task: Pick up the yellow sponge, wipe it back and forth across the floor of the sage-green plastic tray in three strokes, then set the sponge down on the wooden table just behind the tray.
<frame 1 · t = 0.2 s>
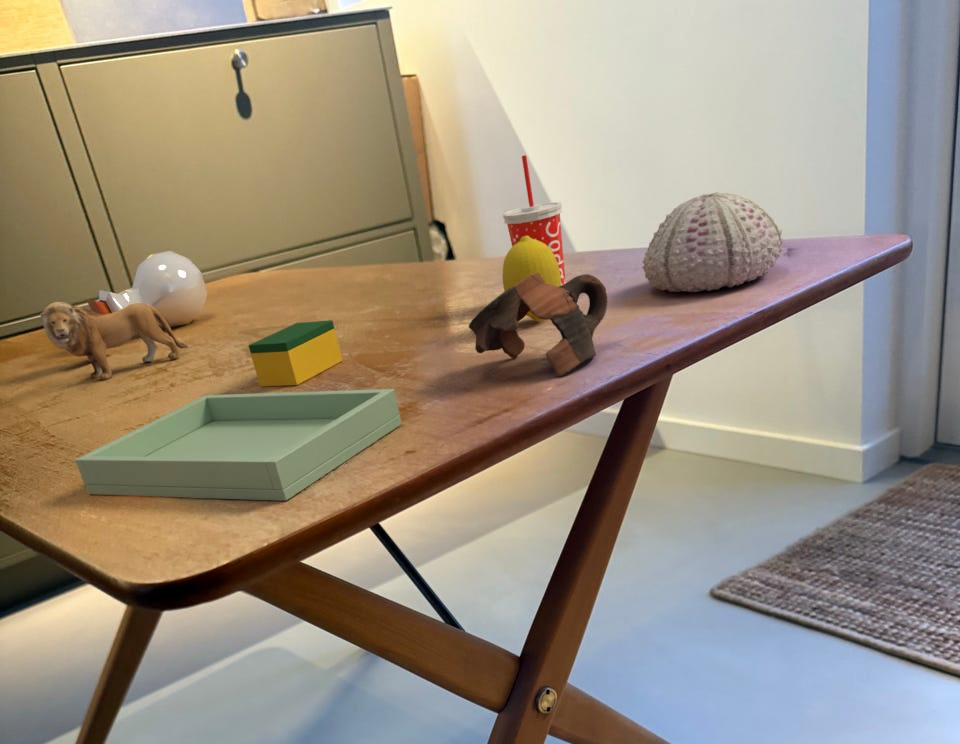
tray: (246, 459, 78), on the table
sea urchin shell: (712, 283, 102), on the table
potion bottle: (162, 331, 138), on the table
brown piece: (551, 364, 87), on the table
lion figurine: (126, 373, 118), on the table
lemon: (538, 323, 101), on the table
beverage cup: (545, 299, 110), on the table
sponge: (302, 373, 100), on the table
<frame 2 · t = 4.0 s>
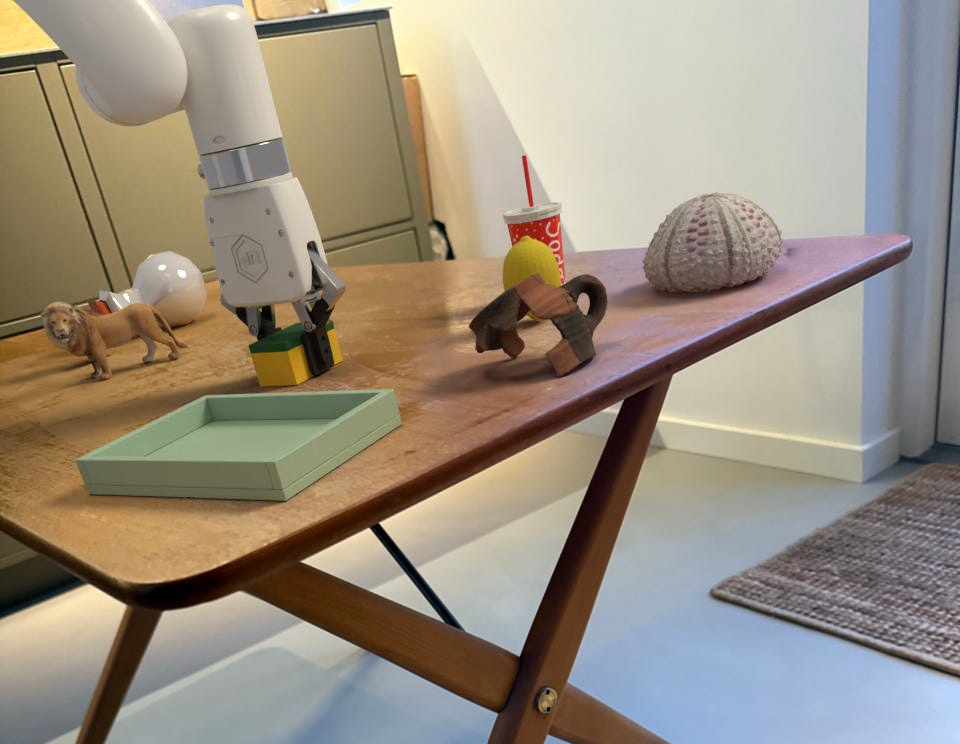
hand: (301, 369, 100), 0 cm above the table, tool pointing down, fingers closed on sponge, 4 cm apart
sponge: (302, 373, 100), on the table, touching gripper
everything else where it was.
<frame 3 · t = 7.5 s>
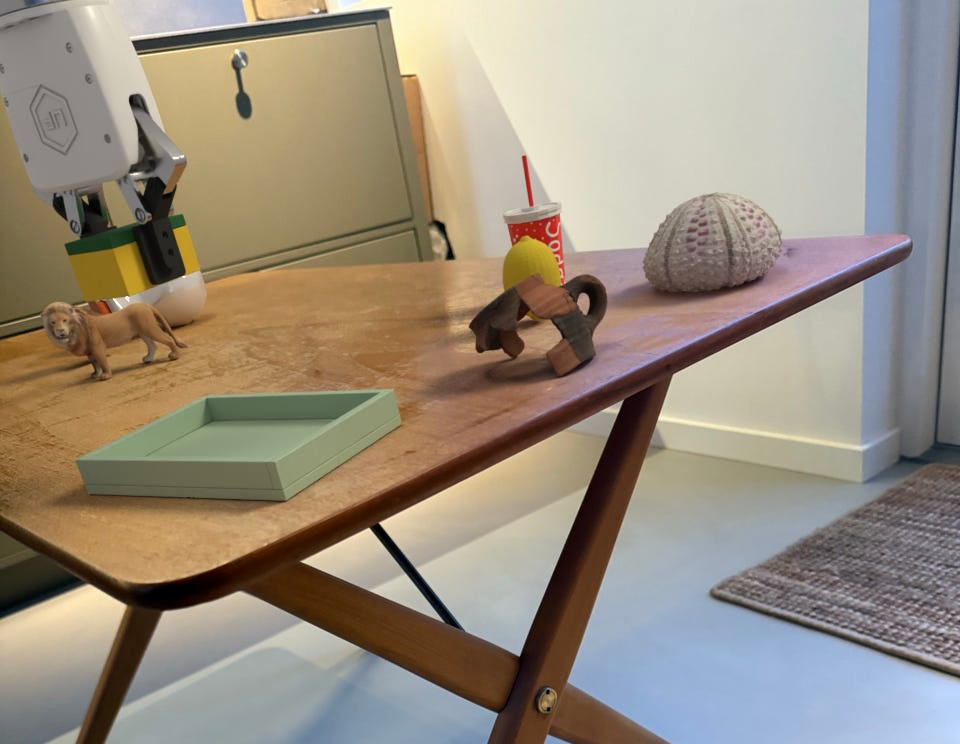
hand: (142, 280, 75), 14 cm above the table, tool pointing down, fingers closed on sponge, 4 cm apart
sponge: (144, 285, 75), point 13 cm above the table, touching gripper
everything else where it was.
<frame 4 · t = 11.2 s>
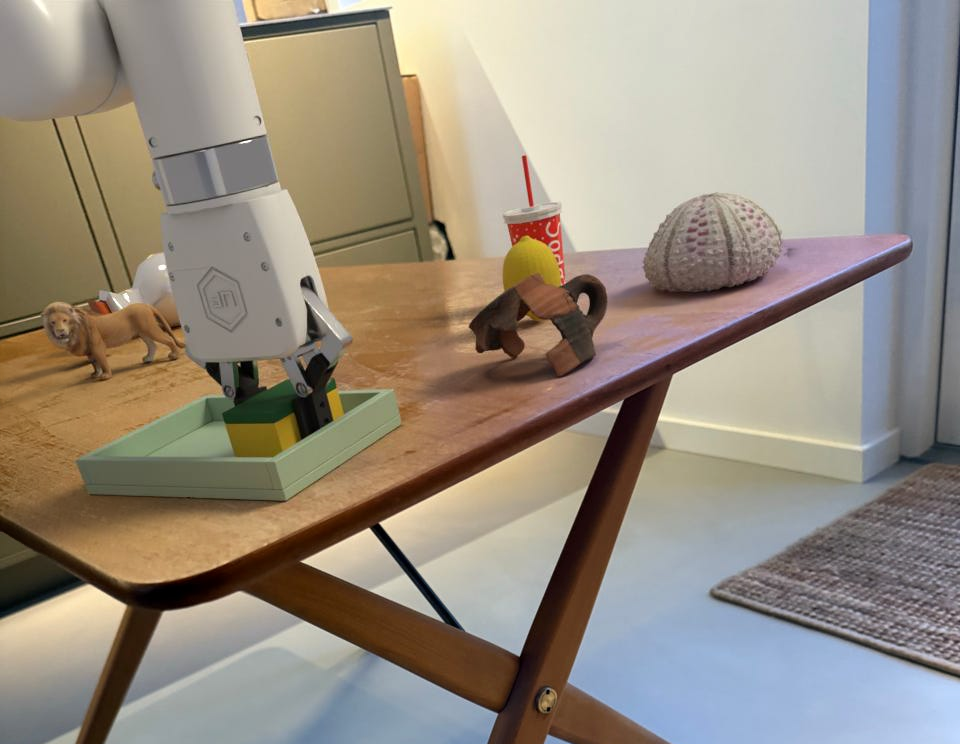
hand: (292, 443, 75), 1 cm above the table, tool pointing down, fingers closed on sponge, 4 cm apart
sponge: (294, 447, 75), point 1 cm above the table, touching gripper
everything else where it was.
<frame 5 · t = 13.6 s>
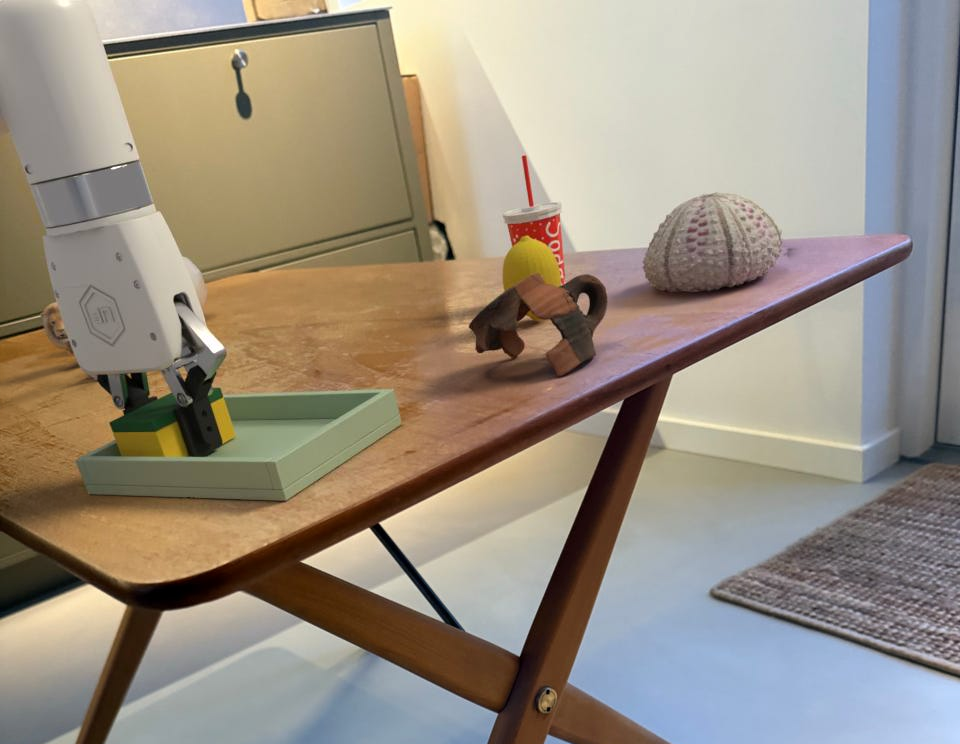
hand: (181, 450, 79), 1 cm above the table, tool pointing down, fingers closed on sponge, 4 cm apart
sponge: (183, 454, 79), point 1 cm above the table, touching gripper
everything else where it was.
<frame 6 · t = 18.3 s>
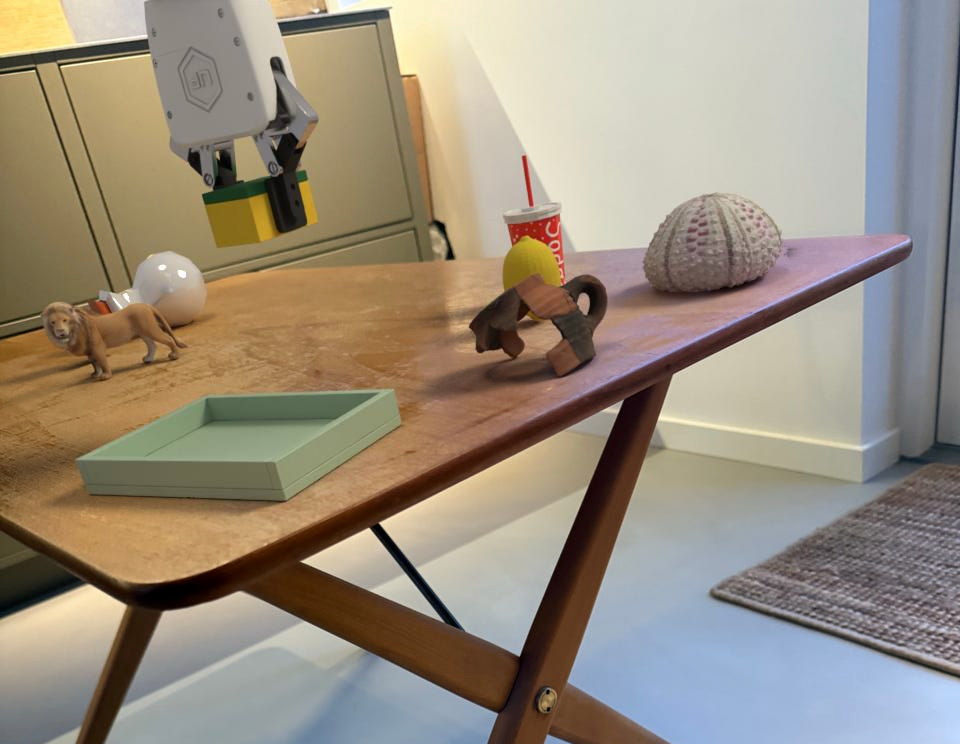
hand: (267, 230, 82), 14 cm above the table, tool pointing down, fingers closed on sponge, 4 cm apart
sponge: (268, 235, 82), point 14 cm above the table, touching gripper
everything else where it was.
when the fingers open (0 cm above the table, at t = 22.2 s): sponge stays where it is, on the table.
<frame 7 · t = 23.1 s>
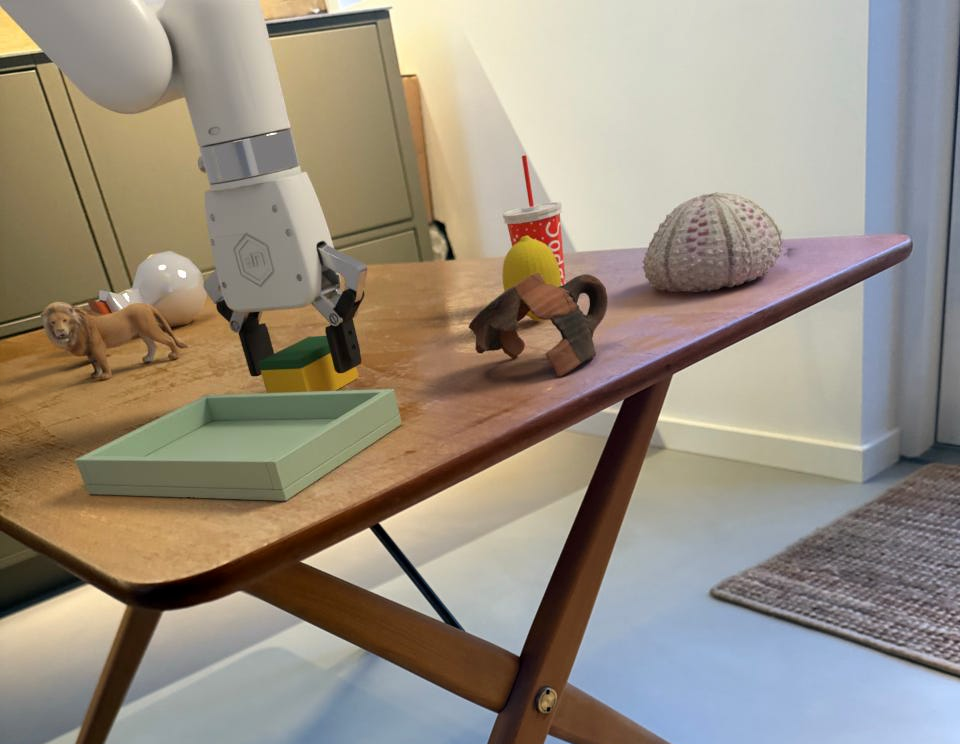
hand: (305, 370, 92), 2 cm above the table, tool pointing down, fingers open, 9 cm apart
sponge: (315, 391, 93), on the table
everything else where it was.
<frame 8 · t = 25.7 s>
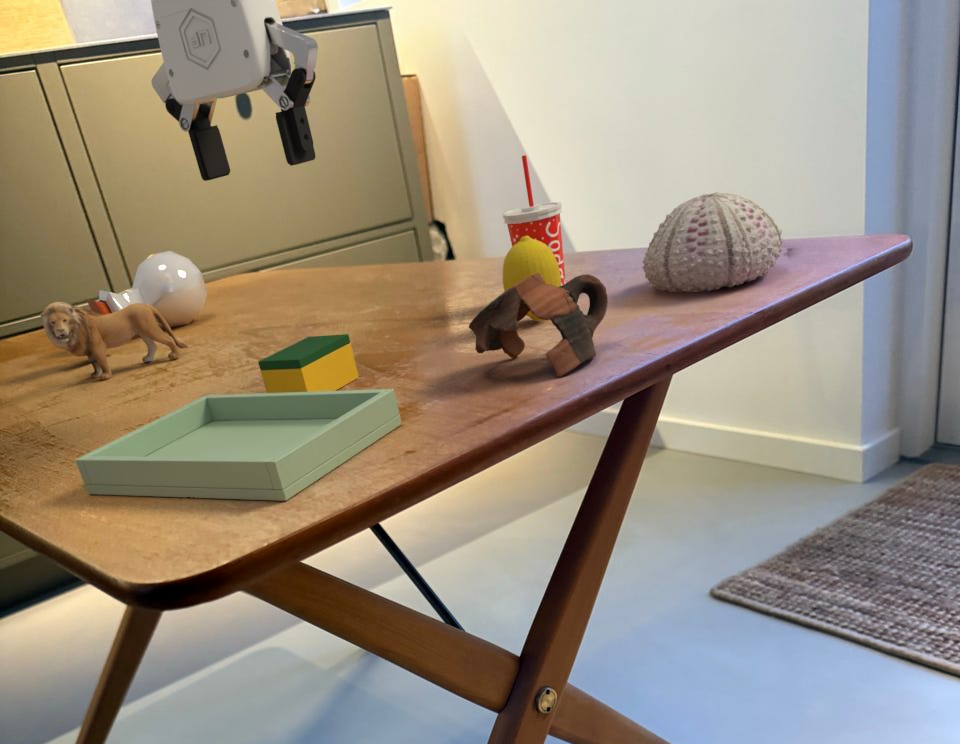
hand: (258, 170, 88), 18 cm above the table, tool pointing down, fingers open, 9 cm apart
nothing on the table moved.
at the end: sponge inside the target area on the table beside the tray (0.2 cm from its centre), on the table; the gripper is holding nothing; sponge tilted 0° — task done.
